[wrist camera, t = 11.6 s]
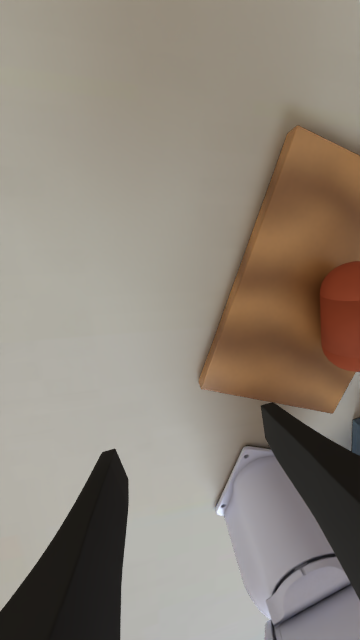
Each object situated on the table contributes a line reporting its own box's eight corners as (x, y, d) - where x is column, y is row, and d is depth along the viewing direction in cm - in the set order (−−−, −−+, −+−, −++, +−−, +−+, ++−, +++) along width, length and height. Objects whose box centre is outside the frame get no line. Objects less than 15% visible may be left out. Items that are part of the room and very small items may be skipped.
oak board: (324, 406, 24) (333, 414, 23) (198, 381, 21) (200, 389, 20) (433, 202, 19) (451, 200, 18) (287, 132, 16) (297, 124, 15)
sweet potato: (339, 349, 22) (397, 365, 18) (311, 368, 20) (369, 390, 16) (339, 256, 19) (408, 253, 15) (306, 270, 17) (375, 270, 14)
